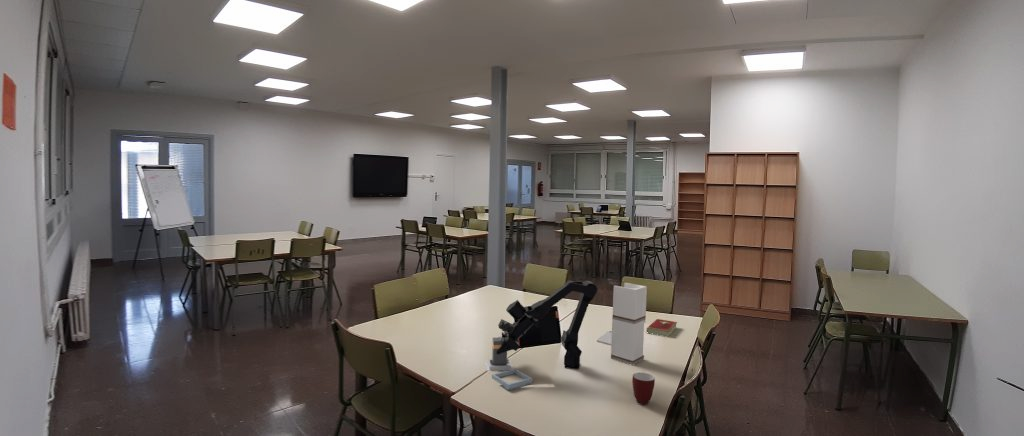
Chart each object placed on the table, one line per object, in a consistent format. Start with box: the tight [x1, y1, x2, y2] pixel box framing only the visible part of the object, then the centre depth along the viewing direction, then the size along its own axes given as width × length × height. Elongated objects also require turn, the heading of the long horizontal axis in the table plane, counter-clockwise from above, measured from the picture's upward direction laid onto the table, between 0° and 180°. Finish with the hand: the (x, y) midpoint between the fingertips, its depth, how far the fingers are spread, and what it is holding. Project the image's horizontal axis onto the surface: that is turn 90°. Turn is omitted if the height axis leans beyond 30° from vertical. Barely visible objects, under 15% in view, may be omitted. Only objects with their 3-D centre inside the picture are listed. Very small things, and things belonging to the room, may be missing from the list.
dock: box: [484, 358, 515, 372], centre depth 209 cm, size 12×10×2 cm
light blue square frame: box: [491, 368, 533, 392], centre depth 194 cm, size 12×12×2 cm
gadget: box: [596, 330, 612, 346], centre depth 252 cm, size 23×15×4 cm, turn 138°
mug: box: [631, 372, 656, 405], centre depth 180 cm, size 10×8×10 cm
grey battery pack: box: [491, 334, 508, 366], centre depth 209 cm, size 6×5×13 cm
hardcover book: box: [646, 318, 678, 338], centre depth 271 cm, size 12×21×4 cm, turn 149°
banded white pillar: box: [610, 282, 648, 366], centre depth 223 cm, size 11×11×35 cm
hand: (496, 351), depth 209 cm, fingers closed on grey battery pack, 5 cm apart
